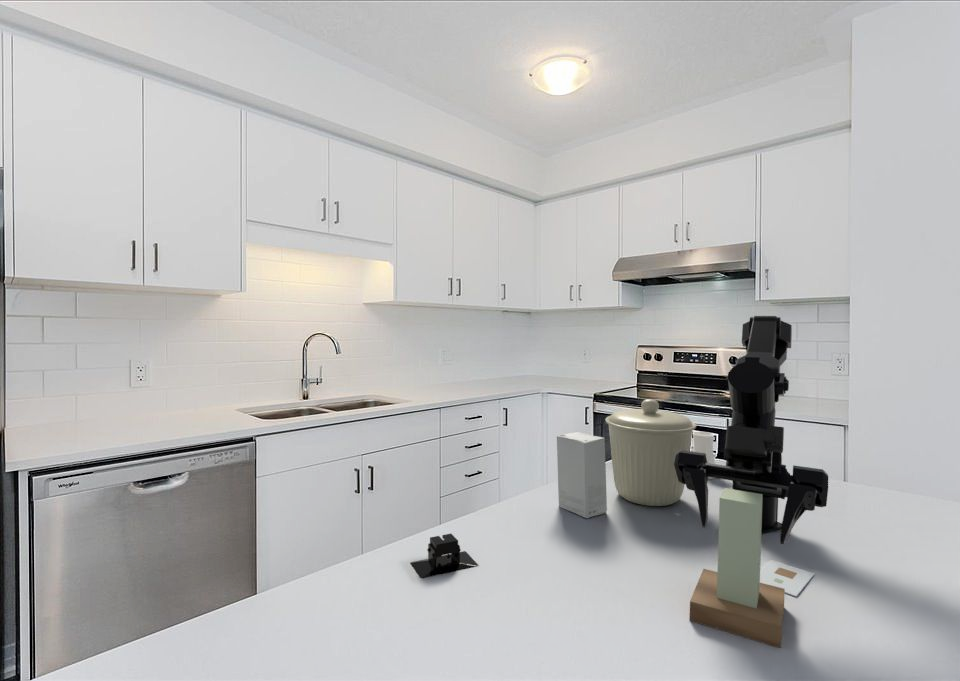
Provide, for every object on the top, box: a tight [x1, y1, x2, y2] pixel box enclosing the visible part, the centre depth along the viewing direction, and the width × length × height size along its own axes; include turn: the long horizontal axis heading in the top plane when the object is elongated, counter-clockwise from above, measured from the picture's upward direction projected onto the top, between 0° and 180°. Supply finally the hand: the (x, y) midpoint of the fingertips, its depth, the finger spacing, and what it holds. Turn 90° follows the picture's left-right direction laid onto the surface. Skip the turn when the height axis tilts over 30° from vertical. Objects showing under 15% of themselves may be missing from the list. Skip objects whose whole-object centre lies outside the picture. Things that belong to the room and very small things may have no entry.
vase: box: [692, 431, 716, 480], centre depth 126 cm, size 8×8×10 cm
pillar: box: [717, 487, 763, 609], centre depth 66 cm, size 4×4×13 cm
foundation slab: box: [689, 568, 786, 649], centre depth 67 cm, size 10×10×2 cm
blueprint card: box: [760, 559, 815, 598], centre depth 76 cm, size 9×6×1 cm, turn 134°
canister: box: [605, 398, 697, 507], centre depth 109 cm, size 18×18×21 cm
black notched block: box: [409, 533, 480, 579], centre depth 80 cm, size 12×7×5 cm, turn 115°
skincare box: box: [556, 431, 608, 519], centre depth 102 cm, size 8×6×15 cm
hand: (741, 534), depth 68 cm, fingers open, 9 cm apart
